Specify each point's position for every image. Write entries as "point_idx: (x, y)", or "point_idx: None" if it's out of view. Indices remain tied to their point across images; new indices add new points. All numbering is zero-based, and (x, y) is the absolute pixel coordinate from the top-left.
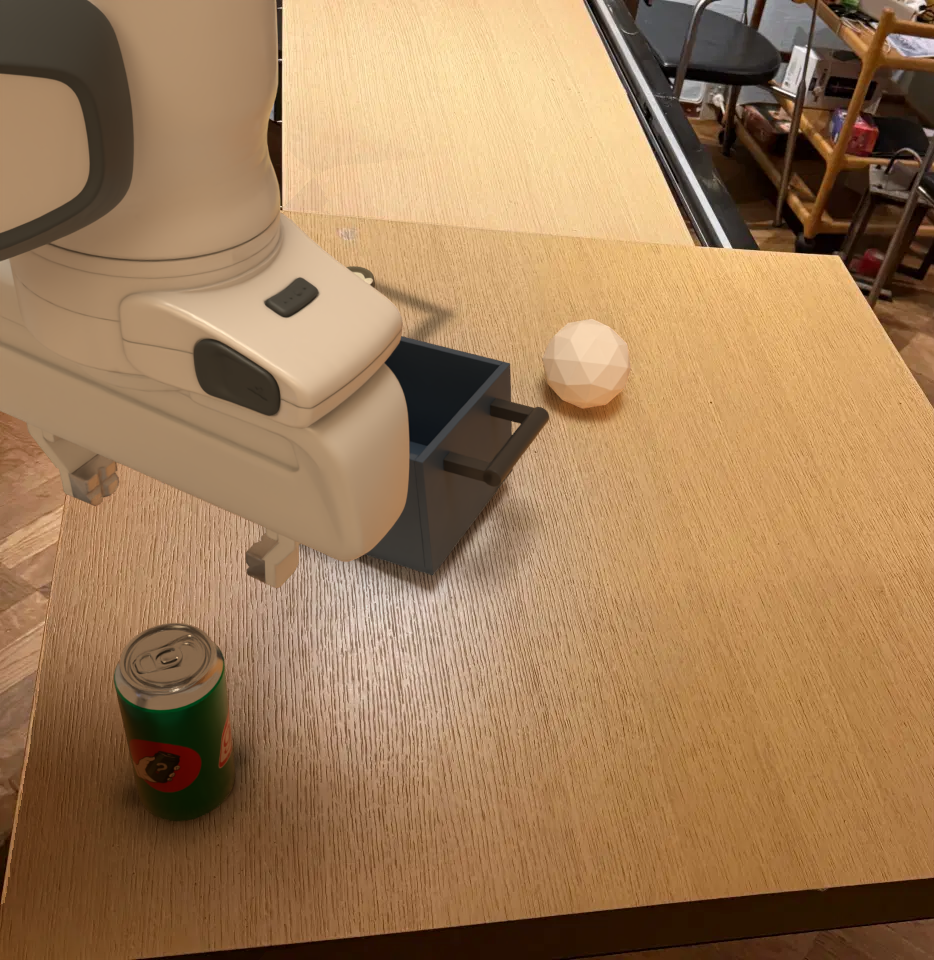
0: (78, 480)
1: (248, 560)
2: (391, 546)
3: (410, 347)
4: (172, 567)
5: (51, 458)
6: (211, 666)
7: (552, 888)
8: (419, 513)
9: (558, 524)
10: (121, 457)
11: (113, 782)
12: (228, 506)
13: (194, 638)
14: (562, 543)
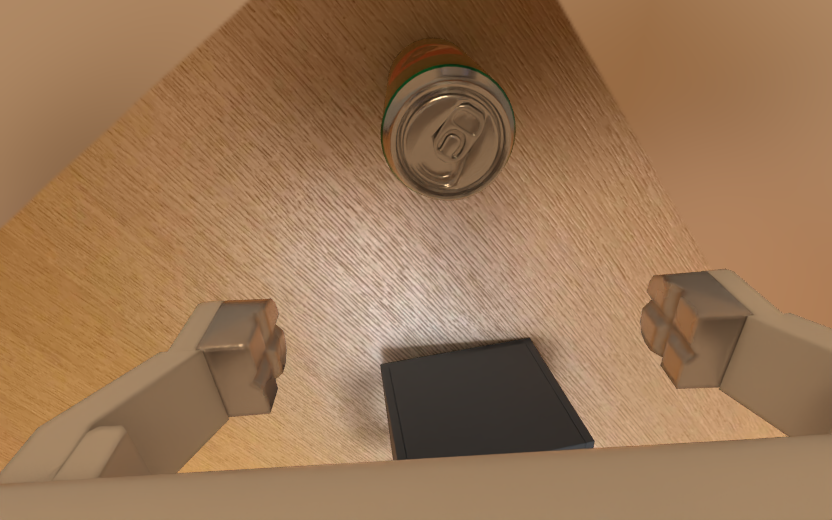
0: (720, 310)
1: (250, 330)
2: (424, 372)
3: None
4: (593, 261)
5: (821, 330)
6: (394, 162)
7: (93, 170)
8: (399, 419)
9: (339, 444)
10: (618, 494)
11: (494, 50)
12: (121, 511)
13: (443, 185)
14: (324, 432)
